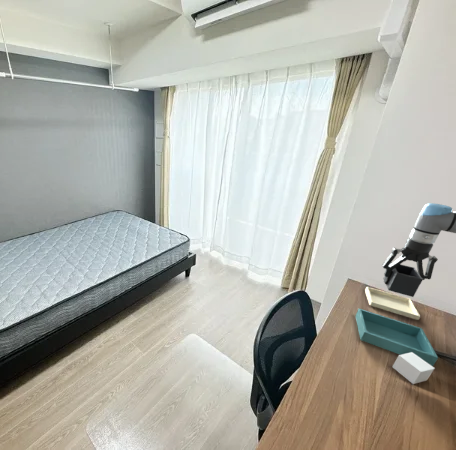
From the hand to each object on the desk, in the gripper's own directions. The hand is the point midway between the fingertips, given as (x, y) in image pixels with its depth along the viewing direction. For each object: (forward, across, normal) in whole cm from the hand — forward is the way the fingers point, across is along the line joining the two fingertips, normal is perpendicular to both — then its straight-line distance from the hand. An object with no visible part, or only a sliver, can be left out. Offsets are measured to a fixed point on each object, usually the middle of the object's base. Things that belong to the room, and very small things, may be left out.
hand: (397, 286), depth 109 cm
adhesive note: (+10, -3, -44) cm, 45 cm away
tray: (+10, 0, 0) cm, 10 cm away
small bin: (+1, 0, 0) cm, 1 cm away
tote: (+10, -5, -28) cm, 30 cm away
